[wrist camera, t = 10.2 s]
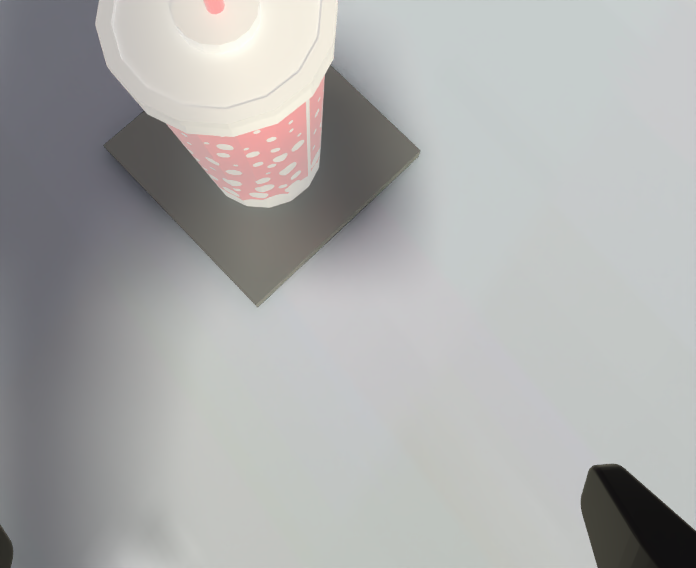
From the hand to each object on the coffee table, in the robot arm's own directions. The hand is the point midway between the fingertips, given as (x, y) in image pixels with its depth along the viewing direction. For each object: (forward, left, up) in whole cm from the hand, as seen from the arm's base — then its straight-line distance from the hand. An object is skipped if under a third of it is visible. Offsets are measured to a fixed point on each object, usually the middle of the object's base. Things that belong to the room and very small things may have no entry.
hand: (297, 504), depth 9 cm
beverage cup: (+6, +10, -13) cm, 17 cm away
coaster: (+6, +10, -14) cm, 18 cm away
